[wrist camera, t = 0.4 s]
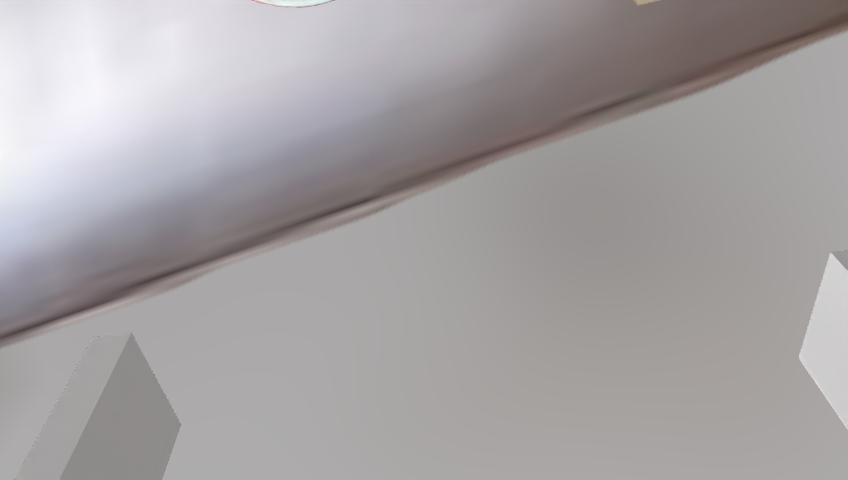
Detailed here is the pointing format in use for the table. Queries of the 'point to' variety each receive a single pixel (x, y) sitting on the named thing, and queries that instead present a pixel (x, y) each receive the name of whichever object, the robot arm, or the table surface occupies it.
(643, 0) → the beige block
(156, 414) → the robot arm
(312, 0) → the mug
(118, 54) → the table surface
